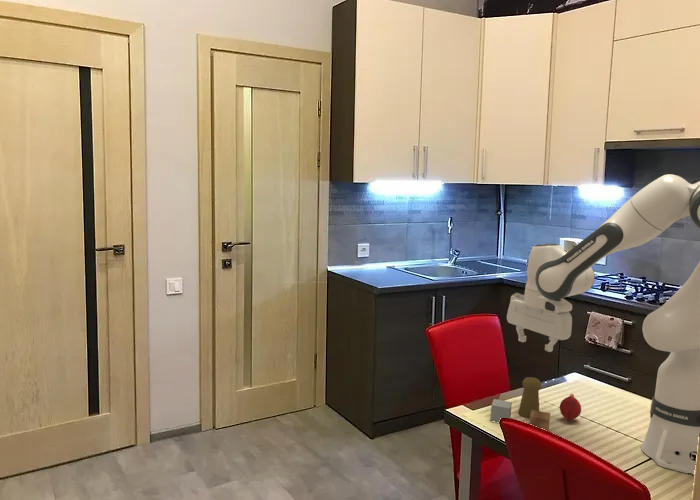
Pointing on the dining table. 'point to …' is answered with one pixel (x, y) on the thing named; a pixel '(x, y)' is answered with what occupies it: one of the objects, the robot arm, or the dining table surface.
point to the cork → (529, 397)
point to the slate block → (500, 410)
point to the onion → (570, 408)
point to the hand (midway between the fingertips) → (534, 346)
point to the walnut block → (540, 419)
